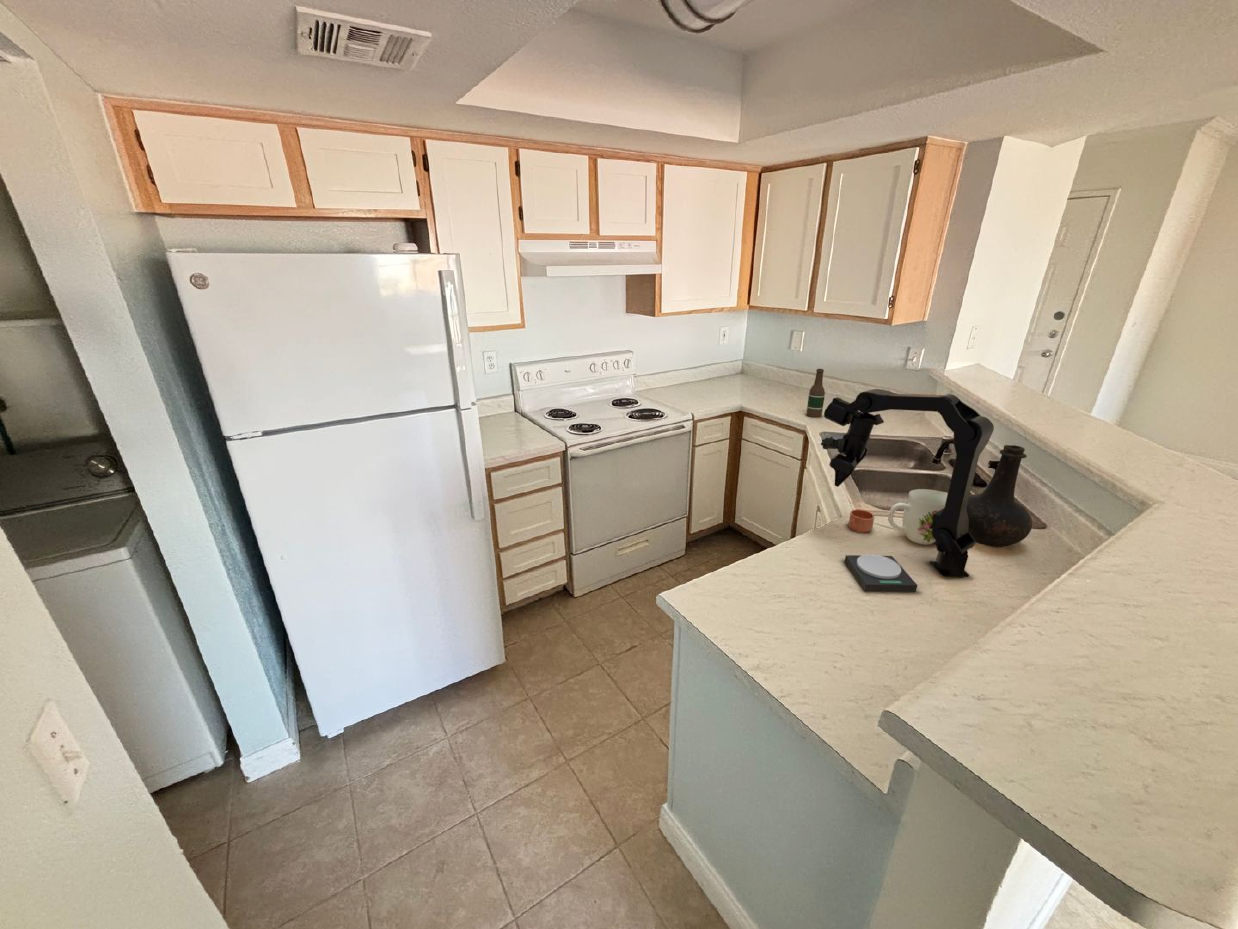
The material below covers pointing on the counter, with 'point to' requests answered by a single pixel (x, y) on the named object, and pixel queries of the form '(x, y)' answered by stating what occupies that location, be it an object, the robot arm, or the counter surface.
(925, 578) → the counter surface
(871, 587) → the scale
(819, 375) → the beer bottle
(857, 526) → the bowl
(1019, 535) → the dark brown vase
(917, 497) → the pitcher
